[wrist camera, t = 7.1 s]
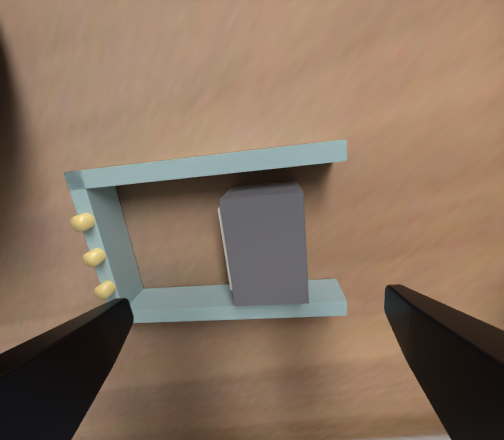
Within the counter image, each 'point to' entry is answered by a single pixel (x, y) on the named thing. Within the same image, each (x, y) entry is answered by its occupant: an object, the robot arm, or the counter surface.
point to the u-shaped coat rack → (191, 297)
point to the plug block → (265, 243)
